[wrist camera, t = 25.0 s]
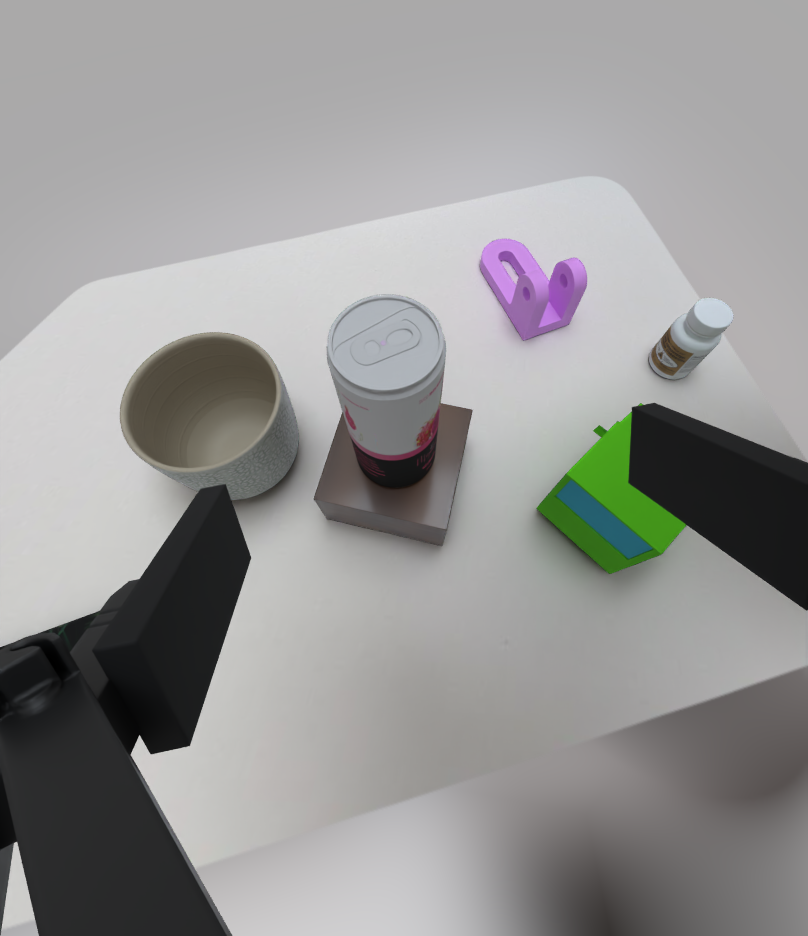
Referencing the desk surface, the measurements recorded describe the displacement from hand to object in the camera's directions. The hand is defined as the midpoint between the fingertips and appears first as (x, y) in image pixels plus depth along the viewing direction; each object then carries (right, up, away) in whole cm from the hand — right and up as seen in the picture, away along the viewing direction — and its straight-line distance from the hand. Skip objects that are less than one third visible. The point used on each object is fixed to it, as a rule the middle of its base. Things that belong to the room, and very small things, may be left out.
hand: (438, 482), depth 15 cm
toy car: (+18, -2, +28) cm, 34 cm away
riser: (-2, 0, +29) cm, 29 cm away
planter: (-16, +2, +31) cm, 35 cm away
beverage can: (-2, +2, +24) cm, 24 cm away
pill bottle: (+27, +11, +33) cm, 44 cm away
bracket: (+12, +21, +37) cm, 45 cm away
